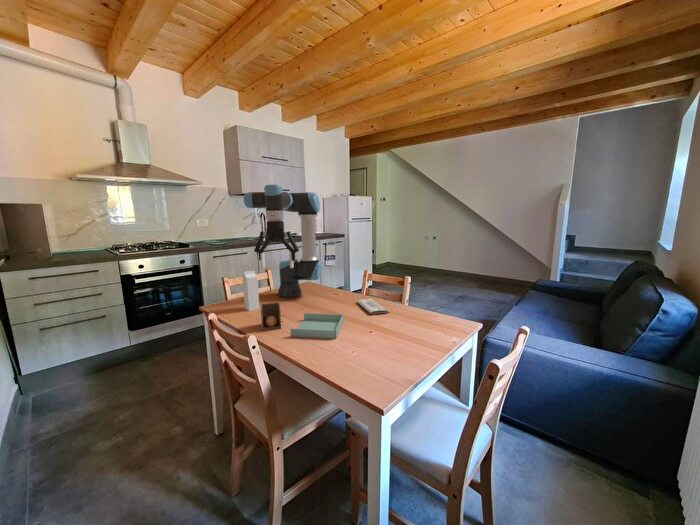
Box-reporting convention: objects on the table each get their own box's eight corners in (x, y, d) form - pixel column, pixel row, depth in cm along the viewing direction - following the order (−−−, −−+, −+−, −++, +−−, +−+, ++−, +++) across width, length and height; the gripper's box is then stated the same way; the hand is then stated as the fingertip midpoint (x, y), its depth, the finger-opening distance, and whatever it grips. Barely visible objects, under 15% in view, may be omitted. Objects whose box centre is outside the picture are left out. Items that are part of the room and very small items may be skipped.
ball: (268, 324, 137) (268, 314, 137) (278, 324, 137) (278, 314, 136) (264, 328, 133) (263, 317, 132) (274, 328, 132) (273, 318, 131)
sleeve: (262, 324, 138) (261, 304, 136) (280, 322, 140) (279, 302, 138) (262, 330, 129) (260, 309, 128) (281, 328, 132) (280, 307, 130)
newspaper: (391, 313, 151) (391, 309, 151) (370, 316, 148) (370, 311, 147) (375, 301, 173) (375, 297, 172) (355, 303, 169) (355, 299, 169)
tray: (304, 319, 143) (304, 313, 142) (343, 321, 140) (343, 314, 139) (290, 336, 123) (290, 328, 122) (336, 338, 120) (335, 331, 120)
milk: (259, 309, 159) (257, 271, 155) (249, 312, 155) (246, 272, 151) (254, 307, 163) (252, 269, 160) (244, 309, 159) (241, 270, 156)
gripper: (244, 220, 124) (247, 268, 128) (299, 220, 121) (301, 269, 125) (252, 220, 132) (255, 265, 135) (304, 220, 129) (306, 266, 132)
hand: (277, 267), depth 130 cm, fingers open, 13 cm apart
